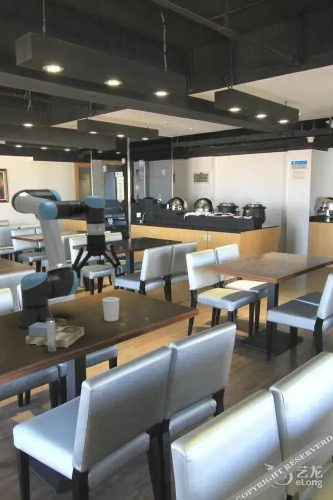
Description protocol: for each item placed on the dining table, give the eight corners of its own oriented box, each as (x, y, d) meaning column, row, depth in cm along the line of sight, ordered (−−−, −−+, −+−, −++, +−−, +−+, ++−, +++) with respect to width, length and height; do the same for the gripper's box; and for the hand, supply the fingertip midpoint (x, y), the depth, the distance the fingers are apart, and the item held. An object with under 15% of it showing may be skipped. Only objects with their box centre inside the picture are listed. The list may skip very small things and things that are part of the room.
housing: (29, 335, 166) (28, 326, 165) (37, 330, 172) (36, 322, 171) (46, 337, 164) (46, 328, 163) (54, 332, 170) (54, 323, 169)
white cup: (116, 322, 191) (116, 301, 190) (100, 321, 193) (100, 300, 192) (121, 317, 199) (121, 297, 198) (106, 316, 201) (105, 296, 199)
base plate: (26, 344, 166) (25, 329, 165) (46, 330, 181) (46, 317, 180) (66, 347, 161) (65, 333, 160) (84, 333, 177) (83, 320, 176)
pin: (46, 352, 157) (45, 321, 155) (50, 349, 160) (49, 319, 158) (53, 352, 156) (52, 322, 155) (57, 349, 159) (56, 320, 158)
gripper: (67, 236, 159) (69, 289, 162) (127, 233, 169) (128, 283, 172) (63, 234, 165) (65, 285, 169) (121, 231, 176) (123, 279, 179)
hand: (97, 284), depth 171 cm, fingers open, 13 cm apart
